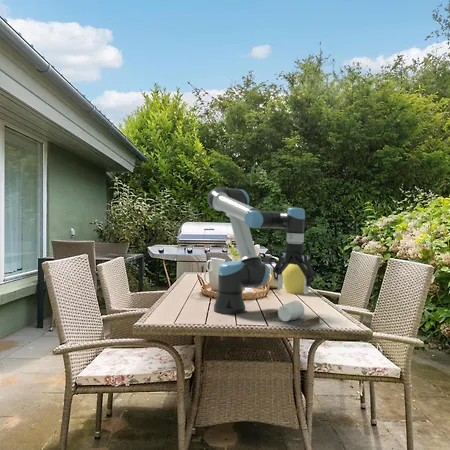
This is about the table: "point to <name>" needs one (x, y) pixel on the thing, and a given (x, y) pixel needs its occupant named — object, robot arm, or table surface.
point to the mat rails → (304, 322)
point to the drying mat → (294, 322)
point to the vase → (293, 279)
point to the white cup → (291, 311)
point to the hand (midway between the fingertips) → (292, 291)
